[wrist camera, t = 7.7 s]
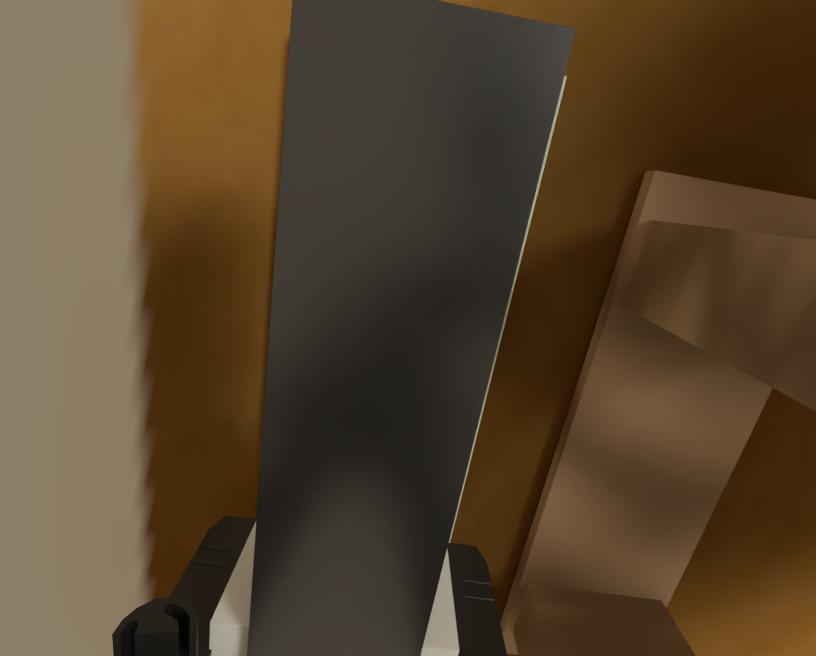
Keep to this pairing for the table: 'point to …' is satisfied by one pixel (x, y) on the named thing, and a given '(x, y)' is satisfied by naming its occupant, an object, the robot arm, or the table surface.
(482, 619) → the robot arm
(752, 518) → the table surface
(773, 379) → the rack
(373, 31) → the rail
